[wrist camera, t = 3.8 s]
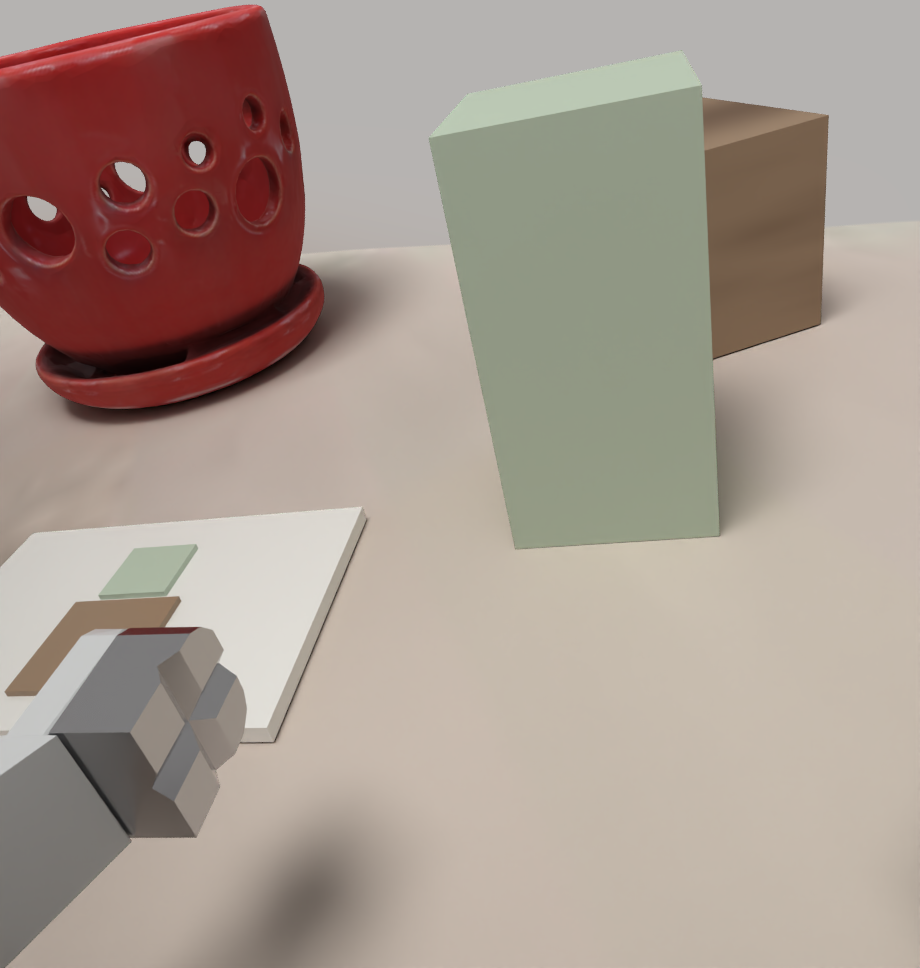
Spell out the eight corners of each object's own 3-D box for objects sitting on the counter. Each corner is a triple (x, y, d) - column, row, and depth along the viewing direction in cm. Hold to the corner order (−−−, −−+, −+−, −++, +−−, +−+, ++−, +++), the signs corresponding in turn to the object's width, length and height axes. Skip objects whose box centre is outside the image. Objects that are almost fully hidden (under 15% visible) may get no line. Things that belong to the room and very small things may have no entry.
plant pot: (-29, 433, 32) (-227, 107, 25) (193, 300, 41) (88, 37, 35) (217, 457, 26) (36, 35, 19) (412, 294, 35) (334, -27, 29)
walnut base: (530, 319, 30) (501, 149, 27) (701, 267, 31) (694, 96, 27) (610, 391, 24) (586, 184, 21) (820, 323, 25) (828, 114, 22)
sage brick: (719, 536, 18) (701, 85, 13) (515, 549, 19) (428, 138, 14) (701, 430, 21) (682, 50, 16) (531, 446, 22) (467, 94, 17)
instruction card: (-147, 744, 18) (-162, 727, 17) (39, 544, 23) (30, 529, 23) (273, 741, 15) (263, 722, 15) (366, 519, 21) (361, 502, 21)
